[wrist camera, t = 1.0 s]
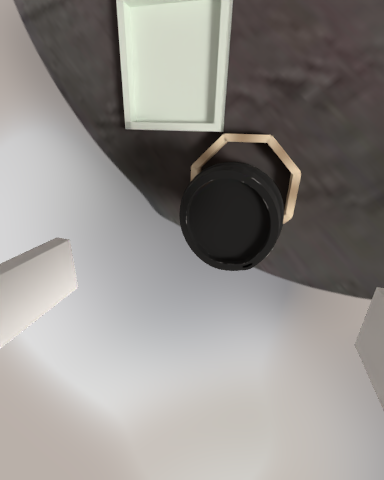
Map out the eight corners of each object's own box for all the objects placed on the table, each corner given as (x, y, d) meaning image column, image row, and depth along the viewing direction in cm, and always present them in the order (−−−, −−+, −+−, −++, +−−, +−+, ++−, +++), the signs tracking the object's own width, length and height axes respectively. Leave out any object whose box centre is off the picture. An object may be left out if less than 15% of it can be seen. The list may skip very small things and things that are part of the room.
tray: (125, 1, 27) (115, -9, 25) (233, -11, 24) (231, -23, 22) (133, 129, 32) (125, 129, 30) (223, 132, 29) (220, 131, 27)
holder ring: (196, 133, 30) (192, 132, 28) (305, 136, 27) (308, 135, 25) (193, 228, 35) (189, 233, 33) (285, 239, 32) (286, 246, 30)
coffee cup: (228, 229, 34) (204, 288, 20) (198, 174, 32) (151, 199, 19) (288, 202, 30) (306, 252, 17) (259, 139, 29) (254, 139, 15)
